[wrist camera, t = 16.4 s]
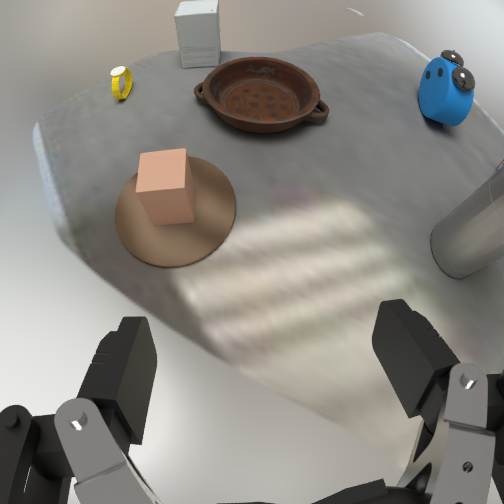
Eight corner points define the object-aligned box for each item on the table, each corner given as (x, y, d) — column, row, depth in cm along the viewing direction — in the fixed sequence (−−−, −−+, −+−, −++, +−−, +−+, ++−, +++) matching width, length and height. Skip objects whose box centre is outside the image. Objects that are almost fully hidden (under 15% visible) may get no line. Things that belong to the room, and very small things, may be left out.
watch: (127, 104, 47) (118, 81, 41) (114, 105, 47) (104, 83, 41) (137, 82, 48) (130, 60, 43) (124, 83, 48) (116, 61, 43)
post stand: (170, 144, 43) (162, 112, 36) (259, 196, 40) (263, 164, 34) (96, 223, 38) (74, 198, 31) (182, 293, 35) (169, 277, 29)
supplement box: (221, 48, 53) (220, -2, 41) (219, 67, 50) (217, 12, 38) (186, 50, 53) (180, 1, 41) (181, 69, 50) (173, 15, 38)
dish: (209, 71, 50) (208, 50, 45) (326, 88, 50) (332, 68, 45) (180, 134, 44) (175, 112, 39) (323, 157, 43) (332, 135, 39)
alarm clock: (450, 140, 47) (487, 89, 33) (425, 131, 47) (460, 75, 33) (435, 98, 52) (463, 50, 38) (412, 89, 52) (438, 38, 38)
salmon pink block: (156, 190, 39) (140, 153, 31) (194, 186, 39) (186, 148, 32) (153, 225, 37) (135, 192, 30) (194, 222, 37) (184, 187, 30)
